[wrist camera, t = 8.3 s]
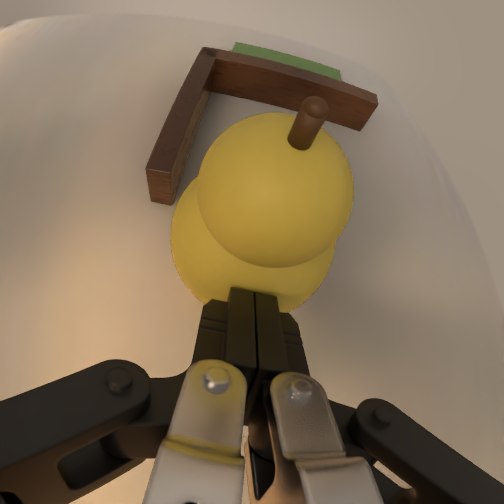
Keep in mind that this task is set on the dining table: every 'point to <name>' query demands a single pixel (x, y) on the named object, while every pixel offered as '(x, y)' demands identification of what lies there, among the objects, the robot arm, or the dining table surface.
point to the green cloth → (287, 60)
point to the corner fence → (250, 87)
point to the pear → (264, 208)
